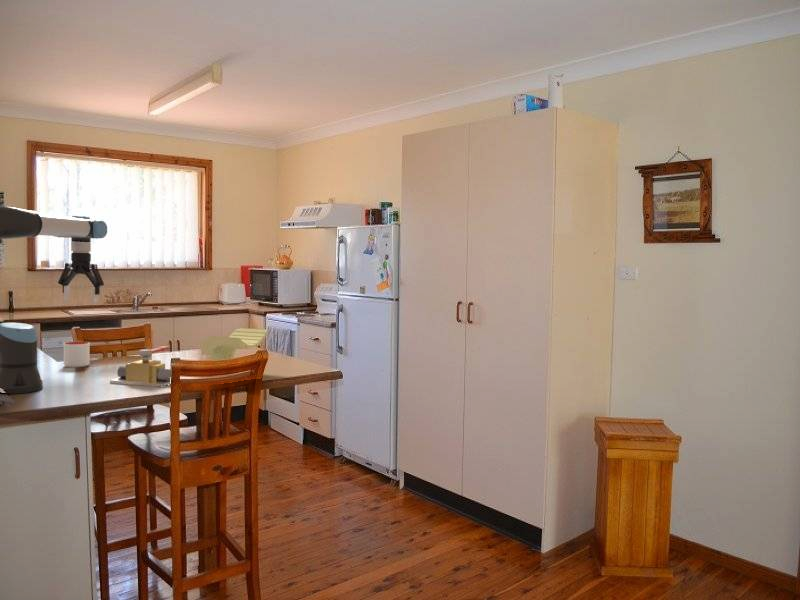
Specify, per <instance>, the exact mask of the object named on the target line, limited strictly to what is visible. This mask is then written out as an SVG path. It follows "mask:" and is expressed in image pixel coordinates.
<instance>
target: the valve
mask: <svg viewBox="0 0 800 600" xmlns="http://www.w3.org/2000/svg"><path fill="white" fill-rule="evenodd" d="M171 370H172V369H170V368H168V369H167V368H166V363H164V362H163V363H162V360H155V359H154V360H153V359H150V356H141V359H139V360H135V361H131V362H128V363H126V364H125V366H123V365H120V366H119V367H118V369H117V376H118V377H116V378H113V379H109V384H112V385H113V384H114V385H115V384H116V385H126V384H127V385H128V386H129V385H130V386H140V385H143V386H142V387H153V386H162V387H161V388H164V387H163V386H165V387H167V386H166V385H168V384H170V377H171ZM127 385H126V386H127ZM168 386H169V385H168Z"/></svg>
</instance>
